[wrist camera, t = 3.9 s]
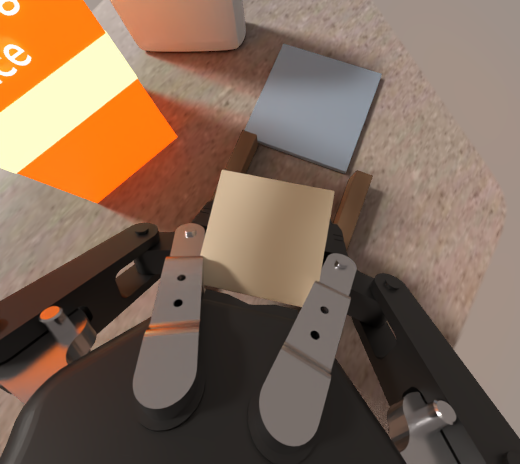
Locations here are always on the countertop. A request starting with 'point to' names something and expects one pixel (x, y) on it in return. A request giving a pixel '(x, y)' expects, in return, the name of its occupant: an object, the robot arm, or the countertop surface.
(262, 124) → the mat
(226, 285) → the beech block
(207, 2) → the photo printer
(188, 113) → the countertop surface
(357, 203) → the channel
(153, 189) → the countertop surface
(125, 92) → the orange juice
